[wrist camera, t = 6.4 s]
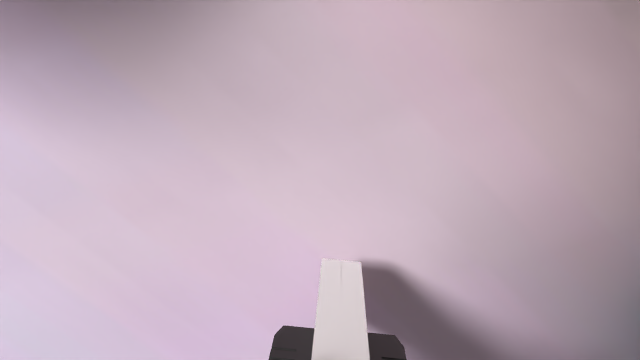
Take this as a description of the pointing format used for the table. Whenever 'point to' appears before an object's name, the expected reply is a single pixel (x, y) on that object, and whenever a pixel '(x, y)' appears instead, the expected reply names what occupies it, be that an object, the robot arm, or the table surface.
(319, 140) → the table surface
